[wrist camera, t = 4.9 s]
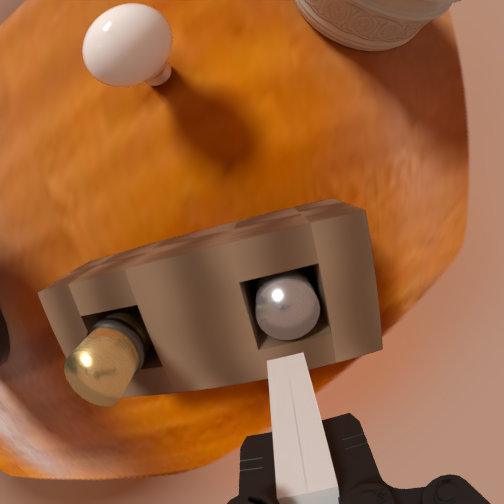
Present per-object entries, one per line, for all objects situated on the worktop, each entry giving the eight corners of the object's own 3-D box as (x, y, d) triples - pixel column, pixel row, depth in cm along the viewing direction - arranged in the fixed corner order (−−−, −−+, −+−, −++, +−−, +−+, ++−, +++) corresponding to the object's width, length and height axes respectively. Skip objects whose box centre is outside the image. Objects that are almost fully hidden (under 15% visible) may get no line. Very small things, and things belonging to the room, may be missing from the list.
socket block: (123, 348, 31) (88, 398, 22) (88, 261, 29) (37, 292, 20) (350, 301, 29) (382, 349, 20) (332, 198, 27) (365, 210, 18)
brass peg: (122, 350, 24) (82, 409, 17) (102, 303, 23) (50, 352, 16) (167, 343, 24) (136, 407, 16) (148, 293, 23) (104, 346, 15)
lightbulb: (207, 76, 25) (177, 24, 14) (150, 120, 26) (91, 94, 15) (169, 32, 23) (128, -27, 13) (116, 74, 24) (52, 36, 14)
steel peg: (260, 301, 28) (261, 349, 20) (248, 254, 27) (244, 287, 19) (309, 290, 28) (327, 333, 20) (299, 242, 26) (316, 270, 19)
